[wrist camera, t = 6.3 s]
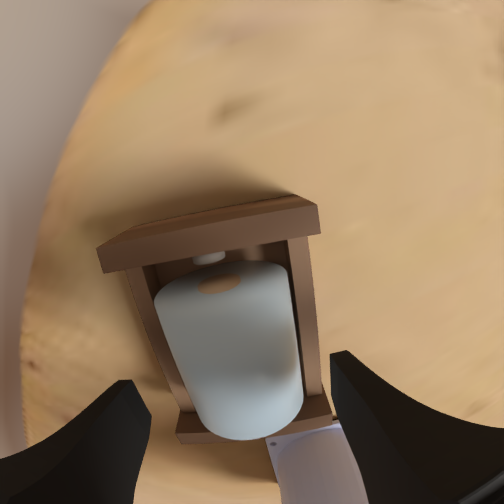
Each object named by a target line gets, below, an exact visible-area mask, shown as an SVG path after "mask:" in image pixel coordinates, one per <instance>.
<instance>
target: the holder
mask: <svg viewBox="0 0 504 504" xmlns="http://www.w3.org/2000/svg"><path fill="white" fill-rule="evenodd" d="M316 234H321V231H320V223H319V215H318V208H317V204H315V203H313V202H311V201H309V200H306V199H304V198H302V197H300V196H298V195H290V196H284V197H278V198H272V199H266V200H260V201H255V202H249V203H244V204H239V205H233V206H228V207H223V208H218V209H213V210H208V211H203V212H198V213H193V214H188V215H184V216H179V217H174V218H170V219H165V220H161V221H156V222H152V223H148V224H143V225H139V226H135V227H132V228H130V229H128V230H127V231H125V232H123V233H121V234H120V235H118V236H116V237H114V238H113V239H111V240H109V241H108V242H106V243H104V244H102V245H101V246H99V247H97V248H96V250H97V253H98V257H99V260H100V264H101V267H102V270H103V273H104V274H105V273H110V272H115V271H120V270H125V271H126V274H127V277H128V280H129V283H130V287H131V290H132V293H133V296H134V299H135V301H136V304H137V307H138V310H139V313H140V316H141V318H142V321H143V324H144V327H145V329H146V332H147V334H148V337H149V340H150V342H151V345H152V347H153V350H154V352H155V354H156V357H157V359H158V362H159V364H160V366H161V369H162V371H163V373H164V375H165V378H166V380H167V382H168V384H169V386H170V389H171V391H172V393H173V395H174V397H175V399H176V401H177V403H178V405H179V407H180V414H179V418H178V423H177V427H176V432H175V434H176V436H177V438H178V439H179V441H180V443H181V444H205V443H222V442H235V441H245V440H233V439H228V438H224V437H221V436H219V435H216V434H214V433H213V432H211V431H210V430H208V429H207V428H206V427H205V426H204V424H203V423H202V422H201V420H200V418H199V416H198V414H197V411H196V409H195V407H194V405H193V403H192V400H191V398H190V396H189V394H188V391H187V389H186V387H185V385H184V382H183V380H182V377H181V375H180V373H179V370H178V368H177V365H176V363H175V360H174V358H173V355H172V353H171V350H170V347H169V345H168V342H167V340H166V337H165V334H164V331H163V329H162V326H161V323H160V320H159V317H158V314H157V312H156V309H155V306H154V299H155V297H156V295H157V293H158V292H159V291H160V290H161V289H162V288H163V287H164V286H166V285H167V284H169V283H170V282H172V281H173V280H175V279H177V278H179V277H181V276H183V275H185V274H188V273H190V272H193V271H196V270H199V269H202V268H205V267H209V266H213V265H217V264H222V263H227V262H235V261H247V260H258V261H267V262H272V263H275V264H278V265H280V266H282V267H283V268H284V269H285V270H286V272H287V276H288V282H289V289H290V296H291V303H292V310H293V317H294V324H295V332H296V339H297V347H298V355H299V362H300V370H301V379H302V387H303V403H302V406H301V409H300V411H299V412H298V414H297V415H296V417H295V418H294V419H293V420H292V421H291V422H290V423H289V424H288V425H287V426H285V427H284V428H282V429H281V430H279V431H277V432H275V433H273V434H271V435H268V436H265V437H262V438H269V437H275V436H282V435H288V434H293V433H299V432H304V431H309V430H313V429H318V428H322V427H327V426H331V425H332V411H331V408H330V405H329V402H328V399H327V396H326V393H325V390H324V387H323V384H322V382H321V366H320V352H319V339H318V327H317V316H316V306H315V296H314V287H313V278H312V269H311V261H310V252H309V245H308V237H307V236H310V235H316ZM262 438H258V439H262ZM252 440H254V439H252Z"/></svg>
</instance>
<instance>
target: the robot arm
mask: <svg viewBox="0 0 504 504" xmlns="http://www.w3.org/2000/svg"><path fill="white" fill-rule="evenodd" d="M330 374H331V396H332V400H333V403H334V407H335V410H336V414H337V417H338V420H334V421H332V425H331V426H327V427H322V428H318V429H313V430H309V431H304V432H299V433H293V434H288V435H282V436H275V437H269V438H265V440H266V444H267V448H268V451H269V455H270V458H271V462H272V465H273V468H274V472H275V475H276V478H277V482H278V485H279V487H280V493H281V502H282V504H504V428H496V427H489V426H484V425H480V424H475V423H471V422H468V421H464V420H461V419H458V418H455V417H452V416H449V415H446V414H444V413H441V412H439V411H436V410H434V409H432V408H430V407H428V406H426V405H424V404H422V403H420V402H418V401H416V400H414V399H412V398H411V397H409V396H407V395H406V394H404V393H402V392H401V391H399V390H398V389H396V388H395V387H393V386H392V385H390V384H389V383H387V382H386V381H385V380H383V379H382V378H381V377H379V376H378V375H377V374H375V373H374V372H373V371H371V370H370V369H369V368H368V367H367V366H365V365H364V364H363V363H362V362H361V361H359V360H358V359H357V358H356V357H355V356H354V355H352V354H351V353H350V352H349V351H347V350H345V351H341V352H337V353H332V354H330ZM151 418H152V416H151V414H150V412H149V410H148V409H147V407H146V405H145V403H144V401H143V400H142V398H141V396H140V394H139V392H138V390H137V388H136V386H135V384H134V383H133V381H132V380H118V381H117V382H115V383H114V384H113V385H112V386H110V387H109V388H108V389H107V390H106V391H105V392H104V393H102V394H101V395H100V396H99V397H98V398H97V399H96V400H95V401H94V402H92V403H91V404H90V405H89V406H88V407H87V408H86V409H84V410H83V411H82V412H81V413H80V414H79V415H77V416H76V417H75V418H74V419H72V420H71V421H70V422H69V423H67V424H66V425H65V426H64V427H62V428H61V429H60V430H58V431H57V432H55V433H54V434H52V435H51V436H49V437H48V438H46V439H44V440H43V441H41V442H39V443H37V444H35V445H33V446H31V447H30V448H28V449H26V450H24V451H21V452H19V453H16V454H14V455H11V456H8V457H5V458H2V459H0V504H133V500H134V492H135V487H136V482H137V478H138V475H139V471H140V468H141V464H142V461H143V457H144V454H145V450H146V447H147V443H148V439H149V434H150V427H151Z"/></svg>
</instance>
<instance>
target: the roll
mask: <svg viewBox="0 0 504 504" xmlns="http://www.w3.org/2000/svg"><path fill="white" fill-rule="evenodd" d="M154 306H155V309H156V312H157V314H158V317H159V320H160V323H161V326H162V329H163V331H164V334H165V337H166V340H167V342H168V345H169V347H170V350H171V353H172V355H173V358H174V360H175V363H176V365H177V368H178V370H179V373H180V375H181V377H182V380H183V382H184V385H185V387H186V389H187V391H188V394H189V396H190V398H191V400H192V403H193V405H194V407H195V409H196V411H197V414H198V416H199V418H200V420H201V422H202V423H203V424H204V426H205V427H206V428H207V429H208V430H210V431H211V432H213V433H214V434H216V435H219V436H221V437H224V438H228V439H233V440H252V439H258V438H262V437H265V436H268V435H271V434H273V433H275V432H277V431H279V430H281V429H282V428H284V427H285V426H287V425H288V424H289V423H290V422H291V421H292V420H293V419H294V418H295V417H296V415H297V414H298V412H299V411H300V409H301V406H302V403H303V387H302V379H301V370H300V362H299V355H298V347H297V339H296V332H295V324H294V317H293V310H292V303H291V296H290V289H289V282H288V276H287V272H286V270H285V269H284V268H283V267H282V266H280V265H278V264H275V263H272V262H267V261H258V260H247V261H235V262H227V263H222V264H217V265H213V266H209V267H205V268H202V269H199V270H196V271H193V272H190V273H188V274H185V275H183V276H181V277H179V278H177V279H175V280H173V281H172V282H170V283H169V284H167V285H166V286H164V287H163V288H162V289H161V290H160V291H159V292H158V293H157V295H156V297H155V299H154Z"/></svg>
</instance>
